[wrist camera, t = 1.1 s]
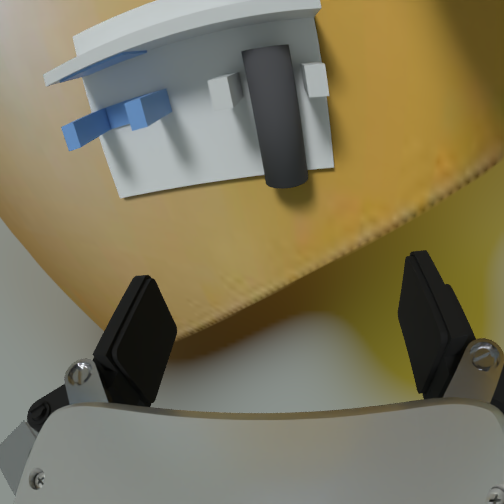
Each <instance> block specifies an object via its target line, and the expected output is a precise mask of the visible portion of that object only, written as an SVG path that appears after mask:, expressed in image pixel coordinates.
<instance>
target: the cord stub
mask: <svg viewBox="0 0 504 504" xmlns="http://www.w3.org/2000/svg"><path fill="white" fill-rule="evenodd" d="M241 53H242V58H243V63H244V68H245V73H246V78H247V83H248V88H249V93H250V99H251V104H252V109H253V114H254V120H255V125H256V130H257V136H258V141H259V147H260V152H261V158H262V163H263V169H264V174H265V180H266V184H267V185H268V186H270V187H273V188H291V187H296V186H299V185H301V184H303V183H305V182H306V181H307V180H308V171H307V163H306V155H305V147H304V139H303V132H302V124H301V117H300V110H299V104H298V97H297V91H296V84H295V78H294V72H293V66H292V60H291V55H290V49H289V44H286V45H275V46H267V47H260V48H254V49H249V50H244V51H241Z"/></svg>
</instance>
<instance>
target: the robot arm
mask: <svg viewBox="0 0 504 504" xmlns="http://www.w3.org/2000/svg"><path fill="white" fill-rule="evenodd" d="M398 319H399V323H400V326H401V329H402V333H403V336H404V340H405V343H406V347H407V351H408V354H409V358H410V362H411V366H412V370H413V374H414V378H415V382H416V387H417V391H418V393H419V394H420V393H423V398H424V400H416V401H409V402H402V403H395V404H387V405H379V406H370V407H362V408H353V409H342V410H330V411H316V412H298V413H297V412H295V413H219V412H199V411H184V410H172V409H161V408H152V407H150V406H151V403H153V402H154V401H155V399H156V396H157V393H158V390H159V387H160V383H161V380H162V377H163V374H164V371H165V368H166V365H167V362H168V359H169V356H170V352H171V350H172V347H173V344H174V341H175V338H176V335H177V327H176V324H175V322H174V320H173V318H172V316H171V314H170V312H169V309H168V307H167V305H166V303H165V301H164V299H163V296H162V294H161V292H160V290H159V288H158V285H157V283H156V281H155V280H154V279H153V278H151V277H150V276H149V275H142V276H135V277H134V278H133V279H132V281H131V283H130V285H129V287H128V288H127V290H126V292H125V294H124V296H123V297H122V299H121V301H120V303H119V305H118V306H117V308H116V310H115V312H114V314H113V316H112V318H111V320H110V321H109V323H108V325H107V327H106V329H105V331H104V333H103V335H102V337H101V339H100V341H99V343H98V345H97V347H96V349H95V351H94V353H93V355H94V359H93V361H92V360H90V359H87V358H85V359H80V360H77V361H76V362H74V363H73V364H72V365H71V366H70V367H69V368H68V370H67V371H66V373H65V377H64V378H65V379H64V380H65V384H64V385H62V386H61V387H59V388H57V389H56V390H54V391H52V392H51V393H49V394H47V395H46V396H44V397H42V398H41V399H39V400H37V401H36V402H35V403H34V404H33V405H32V406H31V407H30V409H29V411H28V416H27V422H25V421H23V422H22V423H21V424H20V425H19V426H18V427H17V428H16V429H15V430H14V431H13V432H12V433H11V434H10V435H9V436H8V437H7V438H6V439H5V440H4V441H3V442H2V443H1V444H0V468H1V470H2V473H3V475H4V476H5V478H6V480H7V482H8V484H9V486H10V488H11V489H12V491H13V493H14V494H15V500H14V504H504V354H503V351H502V349H501V348H500V347H499V345H497V344H496V343H495V342H493V341H492V340H489V339H485V338H482V339H481V338H480V339H476V338H475V336H474V333H473V331H472V329H471V327H470V324H469V322H468V320H467V318H466V316H465V314H464V312H463V309H462V308H461V305H460V303H459V301H458V299H457V297H456V295H455V293H454V291H453V289H452V288H451V286H450V285H449V284H444V282H443V280H442V278H441V276H440V274H439V272H438V271H437V268H436V267H435V265H434V263H433V261H432V259H431V257H430V256H429V254H428V252H427V251H426V250H423V251H415V252H411V253H410V256H407V257H406V259H405V267H404V274H403V282H402V289H401V295H400V301H399V308H398ZM490 489H491V490H490Z"/></svg>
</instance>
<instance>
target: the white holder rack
mask: <svg viewBox="0 0 504 504" xmlns="http://www.w3.org/2000/svg"><path fill="white" fill-rule="evenodd" d="M320 9H321V4H320V0H157V1H154V2H151V3H148V4H145V5H143V6H140V7H137V8H135V9H132V10H130V11H127V12H125V13H122V14H120V15H117V16H115V17H113V18H110V19H108V20H106V21H104V22H102V23H99V24H97V25H95V26H93V27H91V28H89V29H87V30H85V31H83V32H81V33H79V34H77V35H75V36H73V41H74V45H75V50H76V54H77V57H75V58H73V59H71V60H69V61H67V62H65V63H64V64H62V65H60V66H58V67H56V68H54V69H52V70H51V71H49V72H47V73H45V74H44V75H43V77H44V81H45V85H46V86H50V85H53V84H56V83H61V82H65V81H68V80H72V79H76V78H80V77H82V79H83V83H84V86H85V90H86V94H87V97H88V101H89V105H90V108H91V112H92V113H90V114H88V115H86V116H84V117H82V118H79V119H77V120H75V121H73V122H71V123H69V124H67V125H65V126H63V127H61V128H62V131H63V134H64V137H65V140H66V143H67V146H68V149H69V151H72V150H74V149H77V148H80V147H82V146H84V145H85V144H87V143H89V142H90V141H92V140H94V139H95V138H97V137H99V138H100V141H101V144H102V147H103V150H104V153H105V156H106V159H107V162H108V165H109V168H110V171H111V174H112V177H113V180H114V182H115V185H116V188H117V191H118V194H119V196H120V198H124V197H129V196H134V195H139V194H144V193H150V192H155V191H160V190H166V189H172V188H177V187H183V186H189V185H196V184H202V183H208V182H215V181H222V180H228V179H236V178H243V177H250V176H258V175H265V174H264V169H263V163H262V158H261V152H260V147H259V141H258V136H257V130H256V125H255V120H254V114H253V109H252V104H251V99H250V93H249V88H248V83H247V78H246V73H245V68H244V63H243V58H242V53H241V51H244V50H249V49H254V48H260V47H267V46H275V45H286V44H289V49H290V55H291V60H292V66H293V72H294V78H295V84H296V91H297V97H298V104H299V110H300V117H301V124H302V132H303V139H304V147H305V155H306V163H307V170H312V169H322V168H333V167H334V162H333V151H332V141H331V131H330V122H329V113H328V105H327V97H326V96H329V90H328V82H327V75H326V68H325V64H324V63H322V61H321V55H320V49H319V43H318V37H317V31H316V26H315V20H314V17H315V15H316V14H317V13H318V12H319V10H320Z"/></svg>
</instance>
